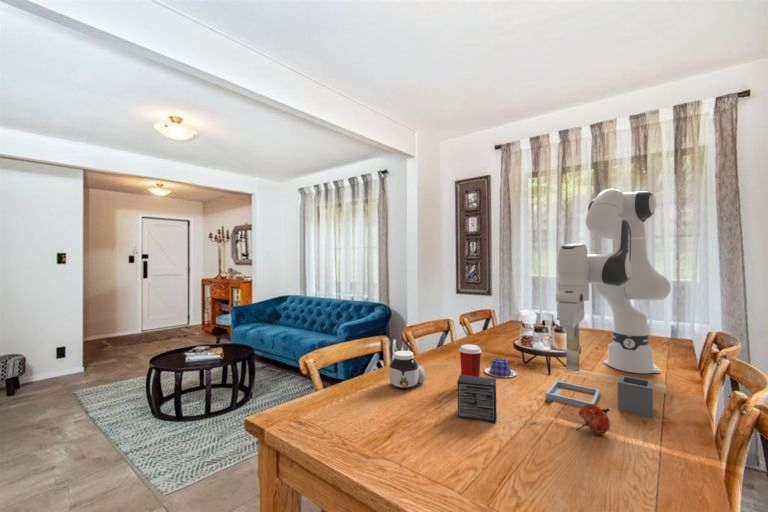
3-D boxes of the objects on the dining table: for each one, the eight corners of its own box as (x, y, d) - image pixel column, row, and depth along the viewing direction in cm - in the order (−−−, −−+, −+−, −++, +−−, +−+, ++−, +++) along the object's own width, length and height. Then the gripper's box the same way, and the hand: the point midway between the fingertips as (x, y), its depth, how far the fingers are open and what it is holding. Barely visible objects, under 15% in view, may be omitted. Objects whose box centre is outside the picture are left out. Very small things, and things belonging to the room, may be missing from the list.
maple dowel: (567, 366, 111) (567, 326, 111) (580, 369, 109) (580, 328, 109) (565, 369, 108) (565, 328, 108) (578, 372, 106) (578, 330, 106)
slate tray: (556, 387, 118) (556, 380, 118) (600, 397, 110) (600, 389, 110) (545, 400, 107) (545, 393, 107) (593, 412, 99) (593, 404, 99)
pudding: (517, 371, 136) (517, 358, 136) (515, 381, 125) (515, 366, 125) (486, 367, 141) (486, 354, 141) (482, 376, 130) (482, 362, 130)
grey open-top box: (620, 404, 105) (620, 374, 105) (653, 411, 100) (653, 380, 100) (617, 413, 99) (617, 382, 99) (653, 421, 94) (652, 388, 94)
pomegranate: (587, 448, 85) (624, 429, 82) (566, 420, 87) (602, 400, 84) (583, 437, 91) (617, 419, 89) (564, 411, 94) (597, 393, 91)
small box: (496, 413, 99) (496, 377, 99) (496, 424, 92) (496, 385, 92) (459, 408, 102) (459, 373, 102) (457, 418, 96) (457, 380, 96)
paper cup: (479, 383, 122) (479, 344, 122) (483, 391, 115) (483, 350, 115) (457, 382, 123) (457, 343, 123) (460, 390, 115) (460, 349, 115)
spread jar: (386, 388, 118) (386, 354, 118) (397, 377, 128) (397, 346, 128) (420, 393, 113) (419, 358, 113) (428, 381, 124) (428, 349, 124)
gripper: (568, 291, 119) (568, 331, 119) (554, 296, 103) (554, 342, 103) (589, 292, 115) (589, 333, 115) (578, 297, 99) (578, 345, 99)
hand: (572, 337), depth 109 cm, fingers closed on maple dowel, 4 cm apart
